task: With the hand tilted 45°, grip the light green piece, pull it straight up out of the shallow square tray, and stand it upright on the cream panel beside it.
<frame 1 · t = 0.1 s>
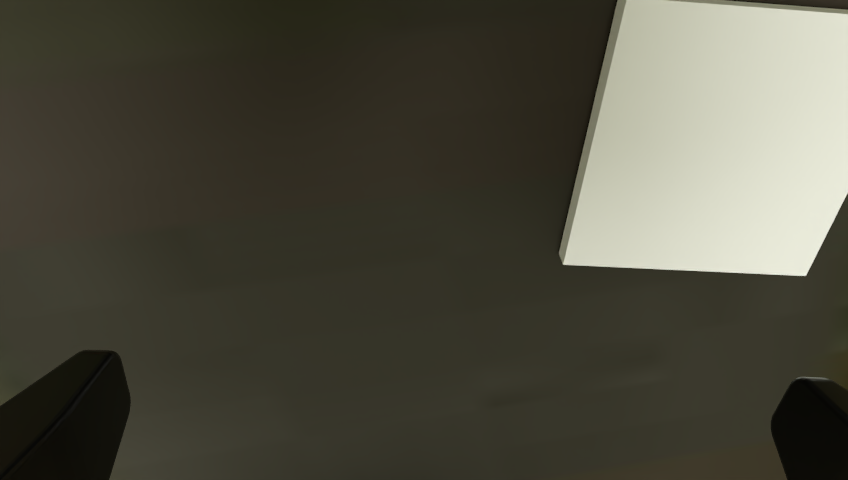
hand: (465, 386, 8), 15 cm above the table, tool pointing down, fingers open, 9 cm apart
cream panel: (718, 146, 23), on the table
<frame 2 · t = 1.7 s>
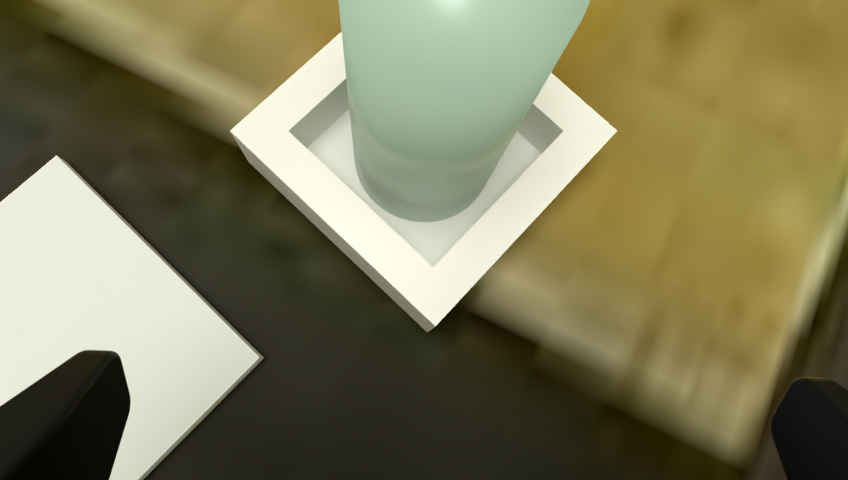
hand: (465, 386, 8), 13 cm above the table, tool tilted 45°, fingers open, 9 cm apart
shallow square tray: (421, 161, 23), on the table
light green piece: (423, 156, 22), point 1 cm above the table, touching shallow square tray
cream panel: (48, 364, 21), on the table
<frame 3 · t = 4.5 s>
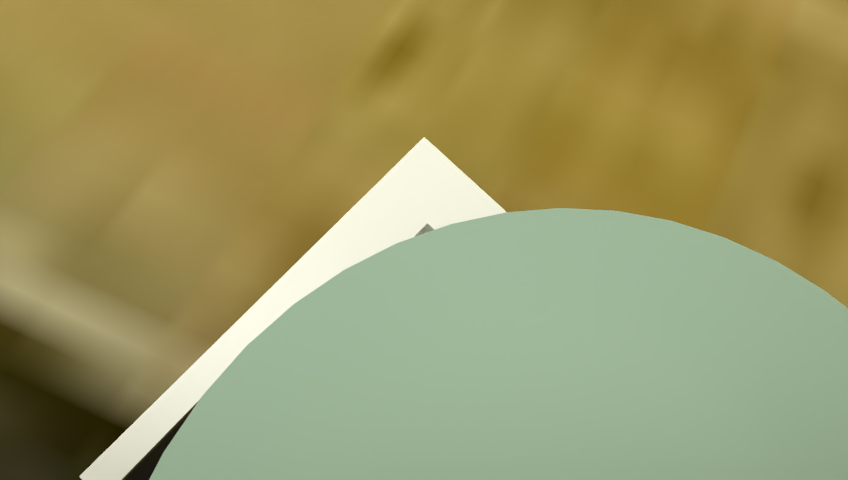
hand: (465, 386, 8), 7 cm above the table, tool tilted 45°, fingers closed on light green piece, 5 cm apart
shallow square tray: (423, 441, 14), on the table
light green piece: (425, 444, 14), point 1 cm above the table, touching gripper, shallow square tray
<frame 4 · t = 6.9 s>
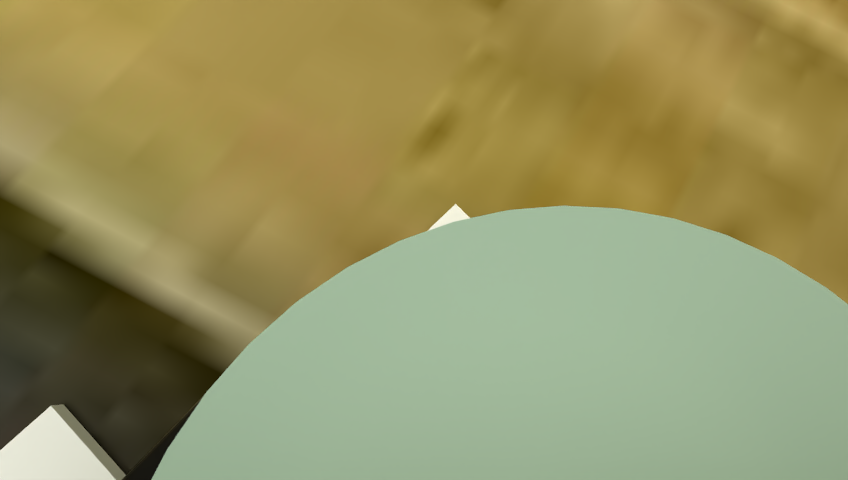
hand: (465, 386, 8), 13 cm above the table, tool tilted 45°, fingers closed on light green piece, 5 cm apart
shallow square tray: (445, 404, 21), on the table
light green piece: (426, 444, 14), point 7 cm above the table, touching gripper
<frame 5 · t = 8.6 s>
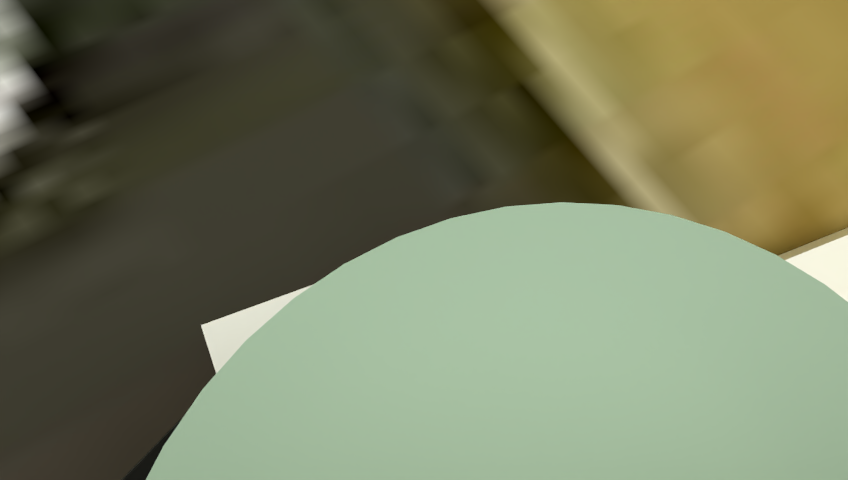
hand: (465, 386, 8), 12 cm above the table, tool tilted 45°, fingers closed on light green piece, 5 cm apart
shallow square tray: (841, 377, 21), on the table
light green piece: (426, 443, 14), point 6 cm above the table, touching gripper
cream panel: (411, 420, 19), on the table
when the fingers open (8 cm above the table, at t = 9.7 s): light green piece drops 1 cm, resting on cream panel.
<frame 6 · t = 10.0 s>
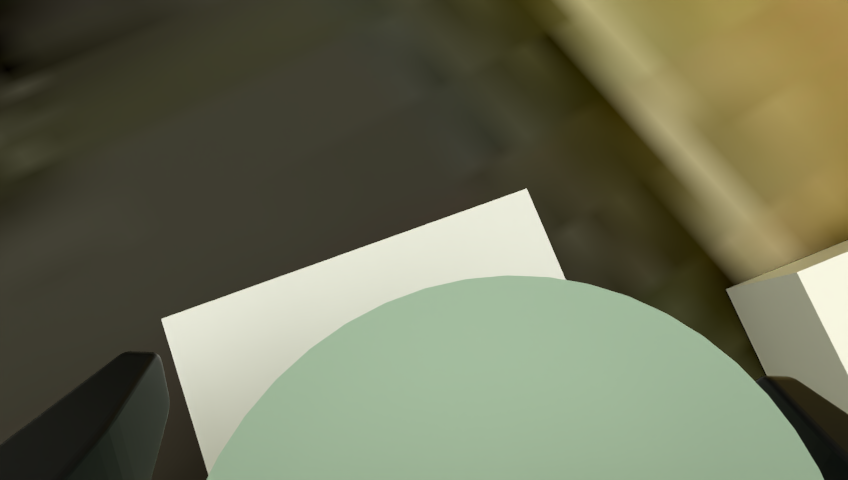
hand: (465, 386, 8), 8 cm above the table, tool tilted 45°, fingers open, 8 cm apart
light green piece: (421, 439, 15), point 1 cm above the table, touching cream panel
cream panel: (418, 434, 16), on the table
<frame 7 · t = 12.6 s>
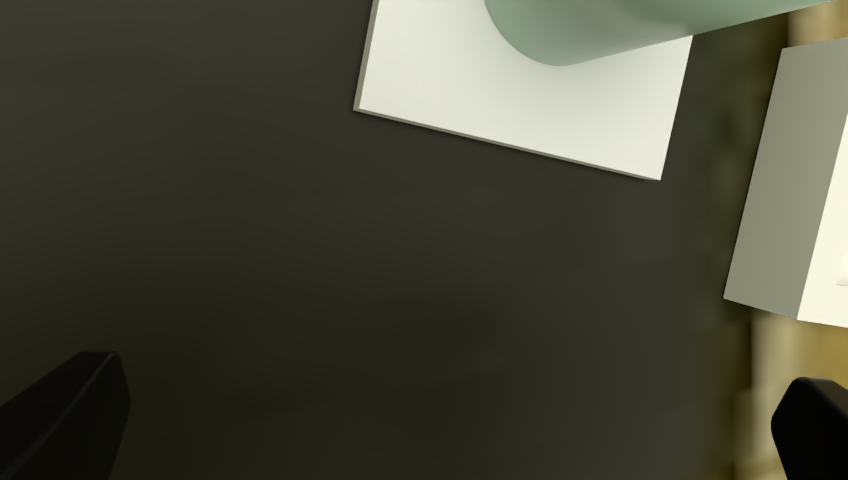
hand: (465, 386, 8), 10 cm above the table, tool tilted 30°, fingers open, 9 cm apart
shallow square tray: (840, 198, 23), on the table
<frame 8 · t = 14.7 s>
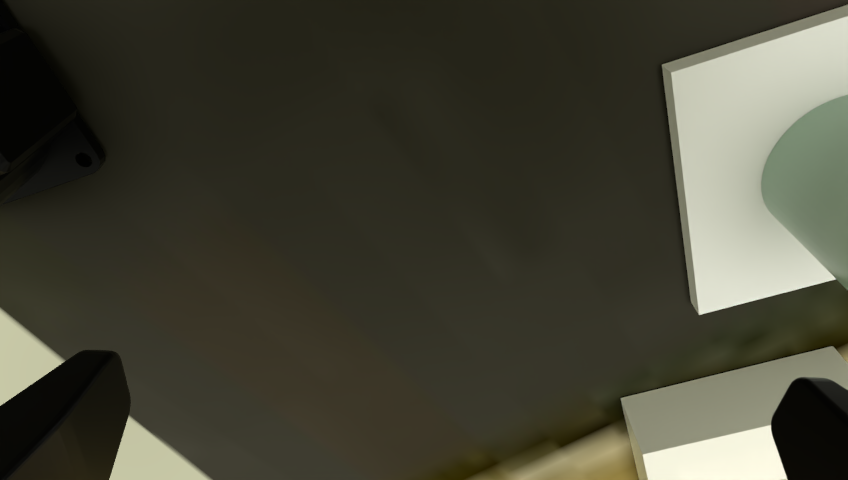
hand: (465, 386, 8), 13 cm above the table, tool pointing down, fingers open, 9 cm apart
shallow square tray: (729, 437, 29), on the table
light green piece: (838, 165, 20), point 1 cm above the table, touching cream panel
cream panel: (825, 154, 21), on the table
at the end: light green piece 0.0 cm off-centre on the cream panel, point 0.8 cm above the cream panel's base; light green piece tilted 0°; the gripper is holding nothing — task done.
